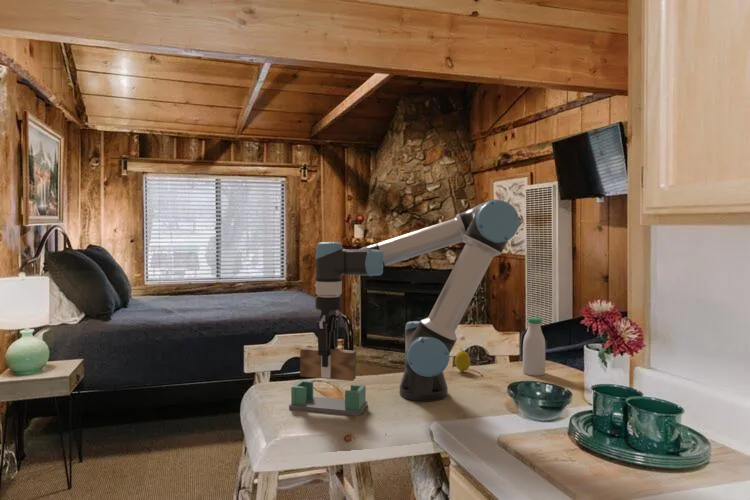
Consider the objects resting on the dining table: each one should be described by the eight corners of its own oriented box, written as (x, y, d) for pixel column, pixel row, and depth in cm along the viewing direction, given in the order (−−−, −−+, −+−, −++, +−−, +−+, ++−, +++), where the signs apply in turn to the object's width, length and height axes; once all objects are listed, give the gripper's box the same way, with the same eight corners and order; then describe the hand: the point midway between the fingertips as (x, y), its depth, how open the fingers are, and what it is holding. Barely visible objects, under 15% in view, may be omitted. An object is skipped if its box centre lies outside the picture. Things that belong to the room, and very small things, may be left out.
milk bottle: (547, 376, 186) (548, 320, 185) (525, 376, 186) (526, 320, 186) (541, 370, 194) (542, 316, 193) (520, 370, 194) (521, 316, 193)
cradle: (367, 405, 156) (367, 384, 156) (359, 415, 147) (359, 393, 147) (300, 399, 161) (300, 379, 161) (289, 409, 152) (289, 388, 152)
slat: (355, 377, 153) (356, 350, 153) (352, 380, 150) (353, 353, 150) (303, 373, 157) (304, 346, 157) (300, 376, 154) (300, 349, 154)
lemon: (451, 372, 191) (452, 350, 191) (460, 369, 195) (460, 347, 195) (464, 375, 188) (465, 352, 187) (473, 372, 192) (473, 350, 191)
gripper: (325, 291, 161) (325, 367, 162) (306, 298, 146) (305, 382, 147) (349, 292, 160) (348, 369, 161) (332, 299, 144) (331, 384, 145)
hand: (328, 375), depth 154 cm, fingers closed on slat, 3 cm apart
